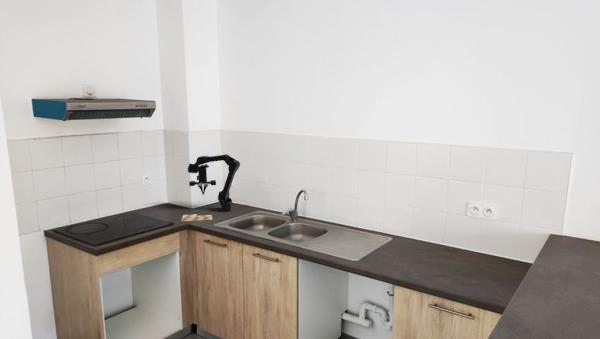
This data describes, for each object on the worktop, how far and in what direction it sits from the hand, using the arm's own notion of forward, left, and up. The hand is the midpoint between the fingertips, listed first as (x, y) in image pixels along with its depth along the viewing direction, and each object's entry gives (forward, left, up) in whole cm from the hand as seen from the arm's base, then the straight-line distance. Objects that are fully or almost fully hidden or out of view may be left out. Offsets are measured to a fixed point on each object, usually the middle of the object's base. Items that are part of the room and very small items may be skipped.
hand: (203, 194), depth 300 cm
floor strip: (+4, +24, -12) cm, 27 cm away
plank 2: (-1, +17, -12) cm, 20 cm away
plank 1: (+9, +17, -12) cm, 22 cm away
